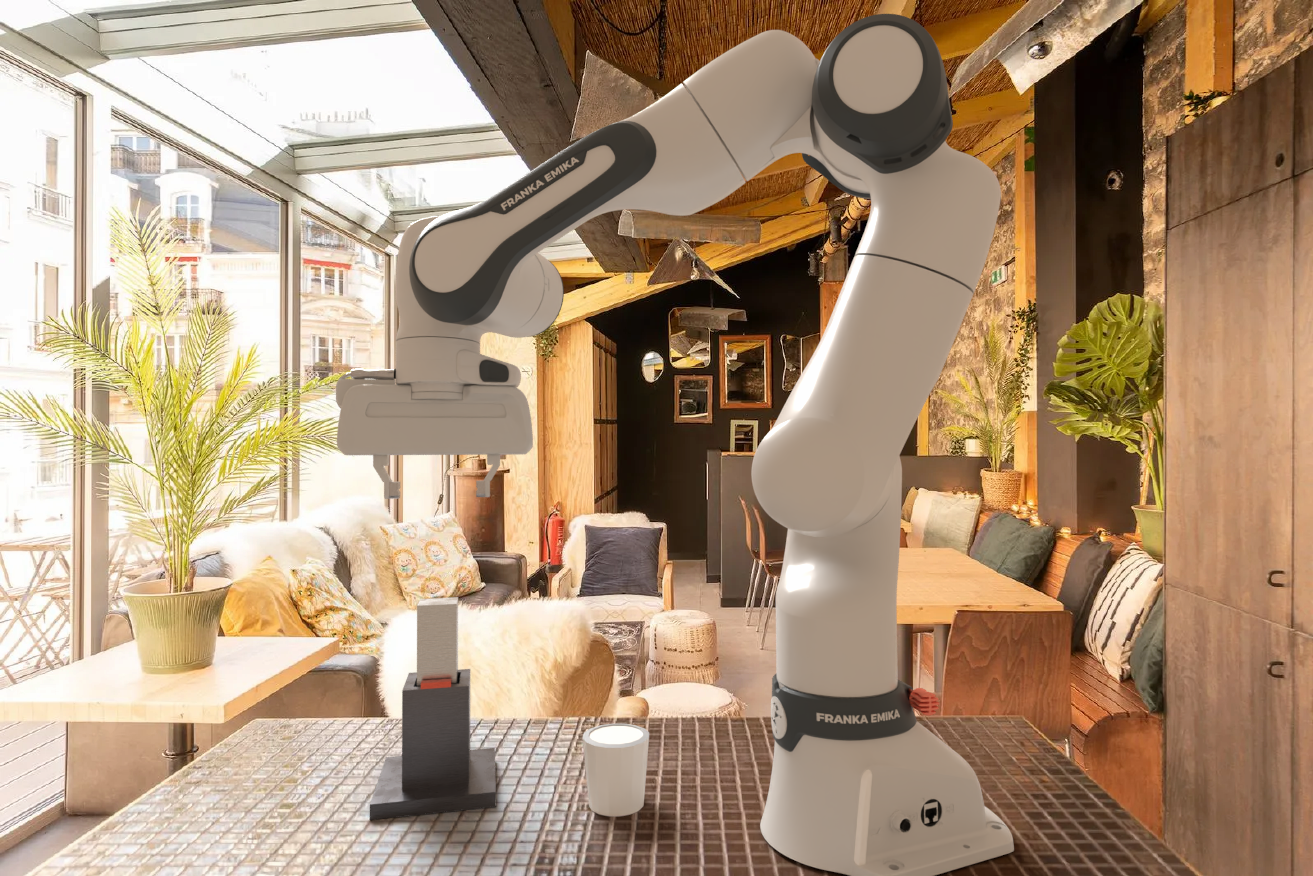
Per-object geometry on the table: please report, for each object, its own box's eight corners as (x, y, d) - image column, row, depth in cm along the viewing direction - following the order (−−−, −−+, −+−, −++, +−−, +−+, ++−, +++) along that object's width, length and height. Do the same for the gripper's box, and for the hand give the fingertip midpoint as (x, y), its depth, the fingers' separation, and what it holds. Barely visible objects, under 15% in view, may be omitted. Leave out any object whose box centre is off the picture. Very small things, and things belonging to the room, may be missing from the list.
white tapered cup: (642, 822, 72) (641, 749, 73) (573, 816, 74) (573, 744, 74) (656, 791, 79) (655, 724, 79) (593, 786, 80) (593, 720, 81)
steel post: (458, 761, 83) (458, 597, 83) (456, 776, 79) (457, 604, 79) (419, 765, 82) (420, 598, 82) (415, 780, 78) (416, 605, 78)
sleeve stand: (494, 760, 87) (494, 655, 88) (495, 807, 76) (495, 685, 76) (386, 770, 85) (386, 662, 85) (369, 820, 73) (370, 694, 74)
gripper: (330, 364, 76) (329, 501, 76) (533, 368, 81) (534, 497, 80) (341, 371, 82) (341, 498, 82) (530, 375, 87) (530, 494, 87)
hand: (438, 497), depth 81 cm, fingers open, 8 cm apart
